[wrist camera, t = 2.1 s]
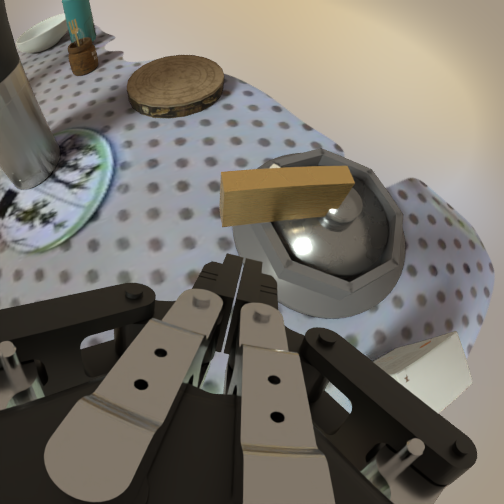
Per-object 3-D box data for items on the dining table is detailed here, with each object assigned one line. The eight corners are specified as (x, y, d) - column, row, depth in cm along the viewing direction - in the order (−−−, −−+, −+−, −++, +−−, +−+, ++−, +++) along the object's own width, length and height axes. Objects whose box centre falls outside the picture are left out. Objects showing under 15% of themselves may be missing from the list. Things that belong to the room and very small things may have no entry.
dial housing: (203, 183, 35) (203, 161, 32) (344, 144, 41) (353, 125, 37) (288, 354, 28) (298, 351, 25) (428, 270, 34) (446, 258, 30)
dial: (358, 173, 37) (387, 126, 29) (394, 269, 32) (441, 235, 24) (212, 181, 34) (213, 123, 26) (230, 298, 29) (236, 264, 20)
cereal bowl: (56, 31, 55) (52, 14, 48) (84, 31, 53) (80, 11, 47) (13, 60, 48) (7, 43, 41) (36, 63, 46) (29, 42, 40)
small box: (356, 422, 26) (413, 435, 16) (339, 377, 28) (393, 374, 18) (411, 388, 28) (475, 383, 18) (396, 346, 30) (458, 329, 20)
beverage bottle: (101, 43, 49) (90, -25, 31) (76, 55, 47) (61, -14, 29) (93, 38, 51) (82, -25, 33) (70, 49, 48) (55, -15, 30)
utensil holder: (76, 80, 43) (62, 32, 32) (70, 70, 44) (58, 26, 33) (102, 67, 45) (92, 19, 34) (94, 58, 46) (85, 14, 35)
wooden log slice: (242, 96, 43) (244, 82, 41) (154, 134, 38) (151, 119, 35) (192, 59, 47) (192, 47, 45) (116, 89, 42) (113, 76, 39)
